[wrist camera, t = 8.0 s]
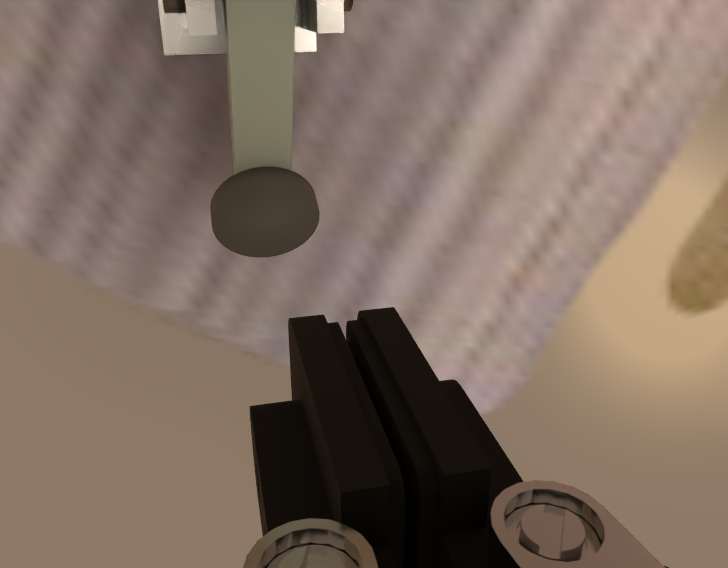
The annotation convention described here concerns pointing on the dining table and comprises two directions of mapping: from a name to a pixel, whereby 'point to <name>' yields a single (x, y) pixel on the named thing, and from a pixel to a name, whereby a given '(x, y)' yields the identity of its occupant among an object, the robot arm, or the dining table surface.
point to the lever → (262, 135)
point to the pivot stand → (207, 28)
